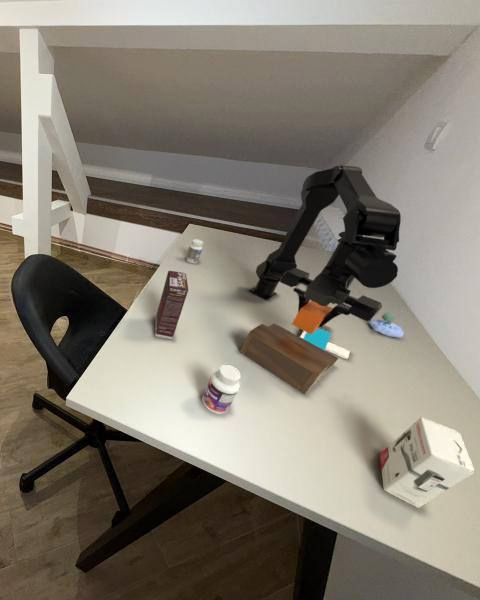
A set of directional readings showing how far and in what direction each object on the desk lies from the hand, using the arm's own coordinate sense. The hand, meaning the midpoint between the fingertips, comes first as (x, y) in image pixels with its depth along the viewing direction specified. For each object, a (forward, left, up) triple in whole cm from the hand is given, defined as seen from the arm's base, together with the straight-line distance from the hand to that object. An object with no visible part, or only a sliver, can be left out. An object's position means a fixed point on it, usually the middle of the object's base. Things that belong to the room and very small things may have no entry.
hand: (309, 321), depth 76 cm
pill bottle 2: (+32, -1, -10) cm, 34 cm away
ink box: (+18, +27, -10) cm, 34 cm away
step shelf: (+5, +1, -10) cm, 12 cm away
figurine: (-36, +12, -10) cm, 39 cm away
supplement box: (+22, -24, -10) cm, 35 cm away
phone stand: (-11, +4, -10) cm, 15 cm away
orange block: (0, 0, -1) cm, 1 cm away
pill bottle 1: (-21, -47, -10) cm, 53 cm away
